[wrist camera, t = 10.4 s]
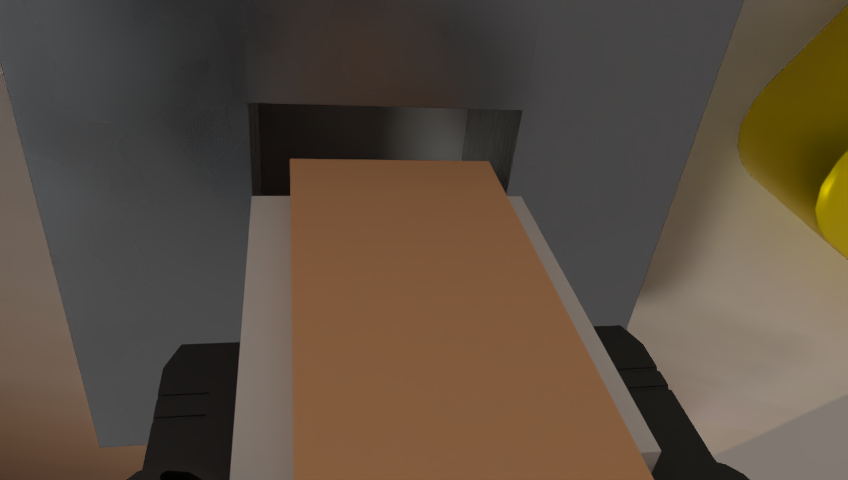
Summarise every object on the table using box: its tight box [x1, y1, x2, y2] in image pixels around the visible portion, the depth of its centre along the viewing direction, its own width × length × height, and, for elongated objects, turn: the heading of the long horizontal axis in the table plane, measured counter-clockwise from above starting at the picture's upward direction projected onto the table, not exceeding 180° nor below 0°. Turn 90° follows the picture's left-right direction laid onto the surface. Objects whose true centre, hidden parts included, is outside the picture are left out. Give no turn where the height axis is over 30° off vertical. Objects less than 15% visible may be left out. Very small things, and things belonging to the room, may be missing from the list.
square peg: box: [290, 159, 654, 480], centre depth 10 cm, size 4×4×10 cm
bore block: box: [0, 0, 744, 448], centre depth 17 cm, size 14×14×4 cm
